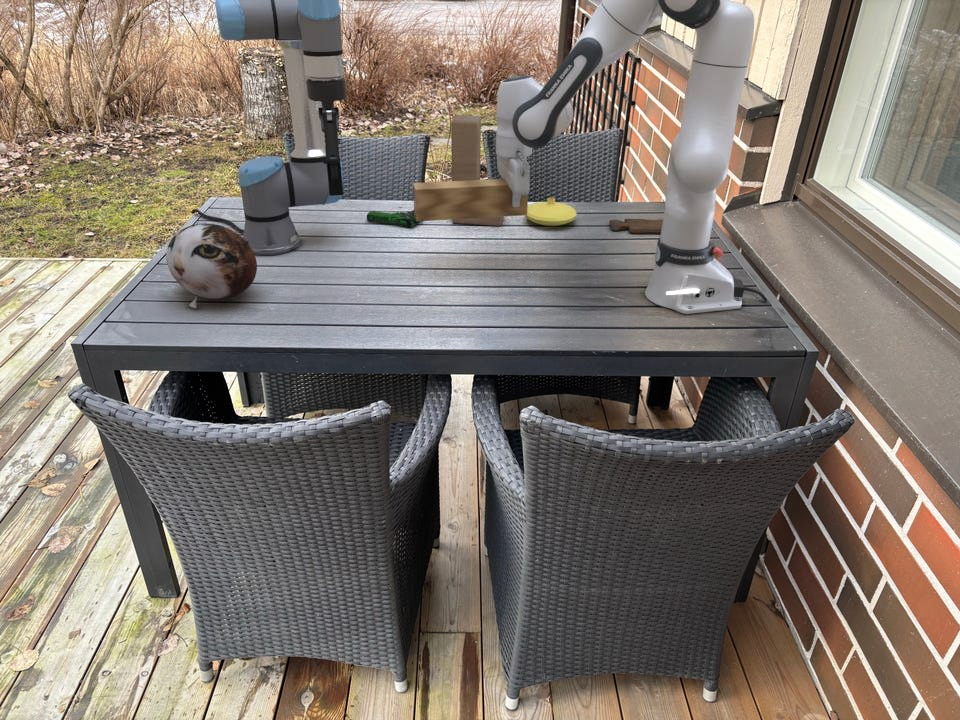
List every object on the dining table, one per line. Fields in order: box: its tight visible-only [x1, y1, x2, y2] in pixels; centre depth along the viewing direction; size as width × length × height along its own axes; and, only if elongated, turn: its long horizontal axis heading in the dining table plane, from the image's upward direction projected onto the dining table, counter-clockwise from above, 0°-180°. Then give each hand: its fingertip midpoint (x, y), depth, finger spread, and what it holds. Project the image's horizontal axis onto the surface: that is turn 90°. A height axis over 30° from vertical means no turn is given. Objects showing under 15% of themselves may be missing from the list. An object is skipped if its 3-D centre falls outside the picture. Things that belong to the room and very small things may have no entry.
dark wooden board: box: [608, 218, 663, 234], centre depth 212 cm, size 26×2×10 cm
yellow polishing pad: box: [524, 197, 578, 227], centre depth 214 cm, size 16×16×7 cm
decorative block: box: [450, 114, 505, 227], centre depth 208 cm, size 8×15×30 cm, turn 82°
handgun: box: [366, 209, 424, 229], centre depth 216 cm, size 16×3×15 cm
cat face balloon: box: [165, 222, 258, 309], centre depth 165 cm, size 22×18×20 cm
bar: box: [412, 178, 529, 222], centre depth 178 cm, size 28×5×8 cm, turn 101°
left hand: (335, 185), depth 150 cm, fingers open, 13 cm apart
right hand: (512, 201), depth 181 cm, fingers closed on bar, 5 cm apart
